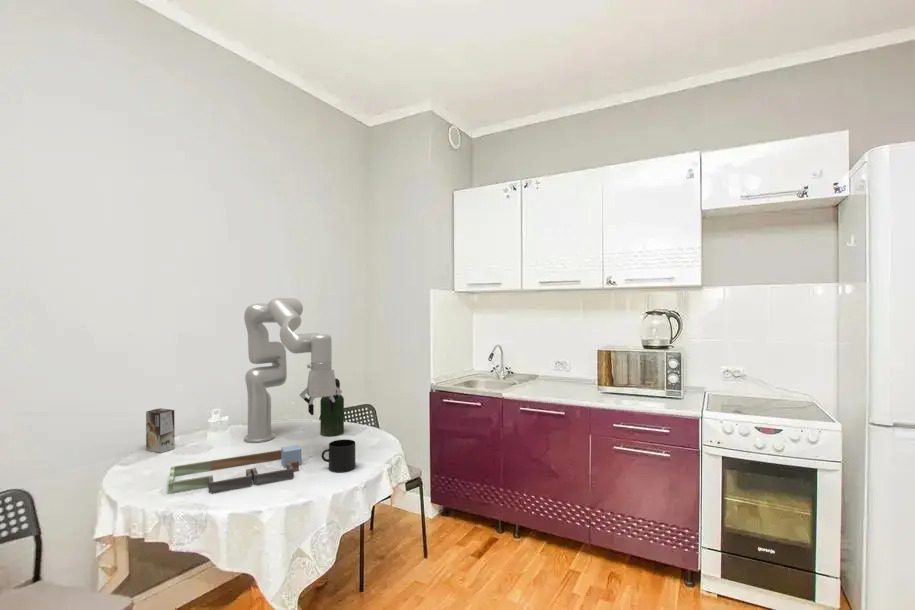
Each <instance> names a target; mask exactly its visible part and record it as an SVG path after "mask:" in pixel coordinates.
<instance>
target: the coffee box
mask: <svg viewBox="0 0 915 610" xmlns="http://www.w3.org/2000/svg"><path fill="white" fill-rule="evenodd" d="M175 432H176V431H175V409H167V408H155V409H151V410H147V411H145V437H146V438H145V450H146V451H147V452H153V453H158V454H162V453H165V452H168V451H171V450H175V445H176V444H175V436H176V435H175Z"/></svg>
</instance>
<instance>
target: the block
mask: <svg viewBox="0 0 915 610" xmlns="http://www.w3.org/2000/svg"><path fill="white" fill-rule="evenodd" d="M280 450H281V459H280V460H281V461H280V462H281V463H280V464H281V465H282V467H283V469H286V463H289V462H295V461H299V467H300V466H302V448H301V447H300V445H298V444H295V445H288V446H283V447H281V449H280Z"/></svg>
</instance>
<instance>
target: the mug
mask: <svg viewBox="0 0 915 610" xmlns="http://www.w3.org/2000/svg"><path fill="white" fill-rule="evenodd" d="M326 452H327V453H328V459H327V458H326V457H325V454H326ZM321 459H322V460H323V461H324V462H327V463H328V470H329V471H330V472H331V473H333V472H334V473H346V472H350V471H352V470H354V469H355V467H356V441H355V440H352V439H335V440H333V441H330V442H329V443H328V448H326V449H325V450H323V451H322V453H321Z"/></svg>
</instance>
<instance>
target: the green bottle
mask: <svg viewBox="0 0 915 610" xmlns="http://www.w3.org/2000/svg"><path fill="white" fill-rule="evenodd" d="M335 382H336V386H337V387H338V388H339V389H340V390H341V388H340V387H341V382H340V380H339V379H338V378H336V377H335ZM336 393H337V391H336ZM329 401H330V399H329V397H320V403H319V404H320V406H319V407H320V409H319V410H320V411H319V412H320V423H319V424H320V426H319V427H320V432H319V433H320V435H322V436H324V437H335V436H339V435H342V434H344V433H345V404H344V403H345V397H344V396H343V395H342V394H340V395H339V397H338V398H337V399H336V400H335V402H334V410H333V413H331V412H329Z"/></svg>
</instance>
